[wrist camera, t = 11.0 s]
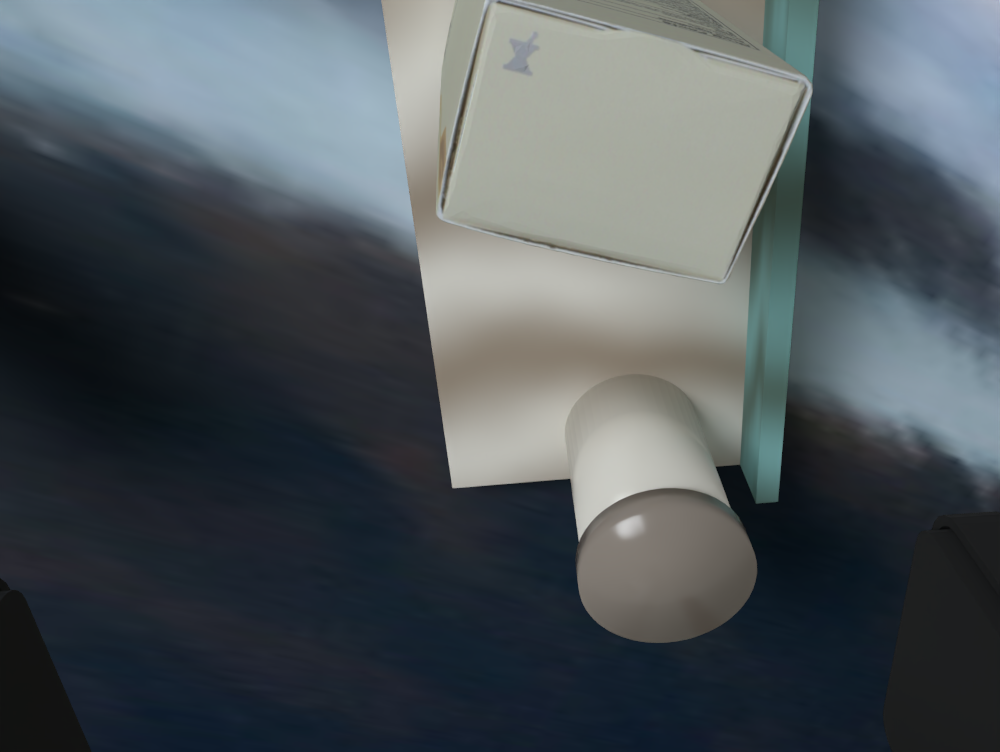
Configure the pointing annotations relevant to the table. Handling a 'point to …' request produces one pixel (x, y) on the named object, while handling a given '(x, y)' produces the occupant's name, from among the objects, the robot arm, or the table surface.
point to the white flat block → (597, 296)
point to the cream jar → (652, 515)
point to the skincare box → (613, 130)
